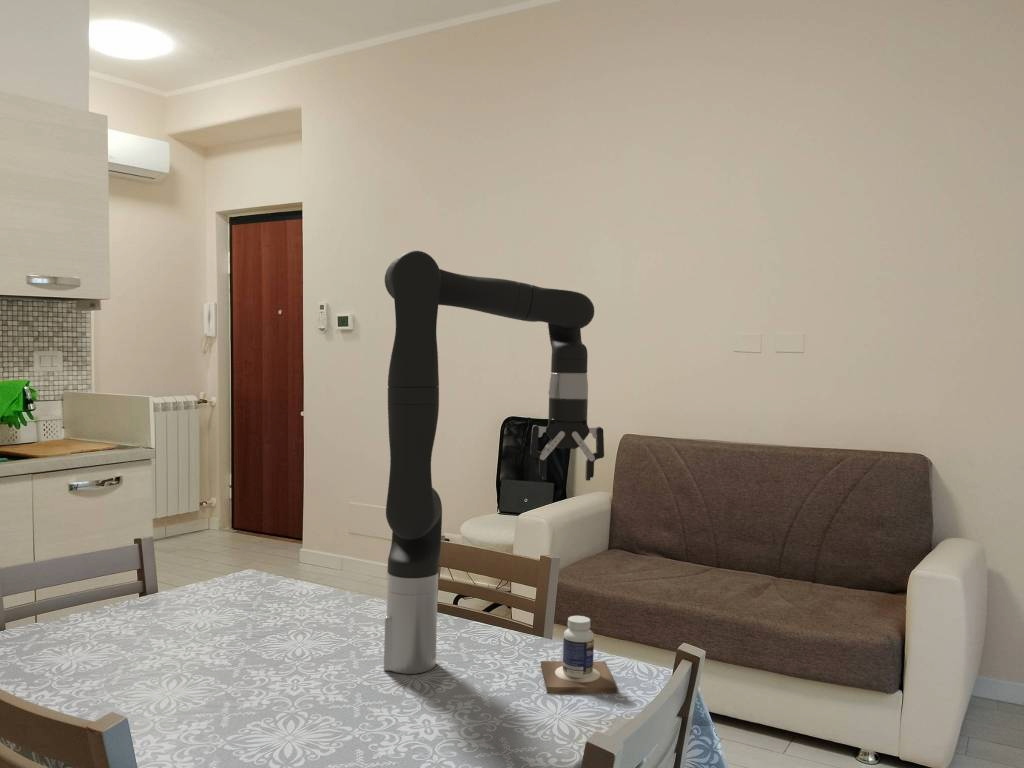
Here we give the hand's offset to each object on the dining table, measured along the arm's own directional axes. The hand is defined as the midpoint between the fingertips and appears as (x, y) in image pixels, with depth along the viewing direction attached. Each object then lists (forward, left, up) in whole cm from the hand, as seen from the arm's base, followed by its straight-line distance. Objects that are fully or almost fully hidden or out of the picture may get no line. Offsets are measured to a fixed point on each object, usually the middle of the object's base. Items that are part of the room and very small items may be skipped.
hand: (566, 479), depth 156 cm
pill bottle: (+1, -14, -33) cm, 36 cm away
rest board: (+1, -14, -34) cm, 36 cm away
